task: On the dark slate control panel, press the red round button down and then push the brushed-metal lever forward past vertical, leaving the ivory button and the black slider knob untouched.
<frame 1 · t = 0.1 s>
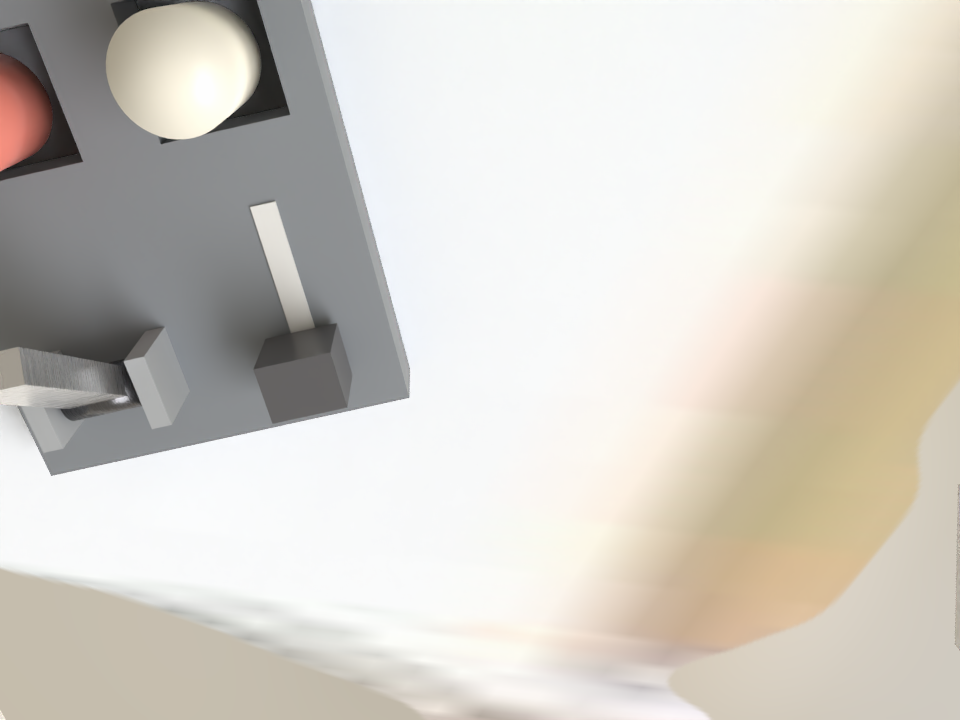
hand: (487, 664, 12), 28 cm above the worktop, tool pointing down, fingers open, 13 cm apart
slider knob: (305, 372, 35), point 5 cm above the worktop, slide at 2.0 cm
panel: (166, 197, 37), on the worktop
button ivory: (190, 66, 30), point 5 cm above the worktop, slide at 0.0 cm
lever: (59, 383, 32), point 8 cm above the worktop, hinge at -30.0°
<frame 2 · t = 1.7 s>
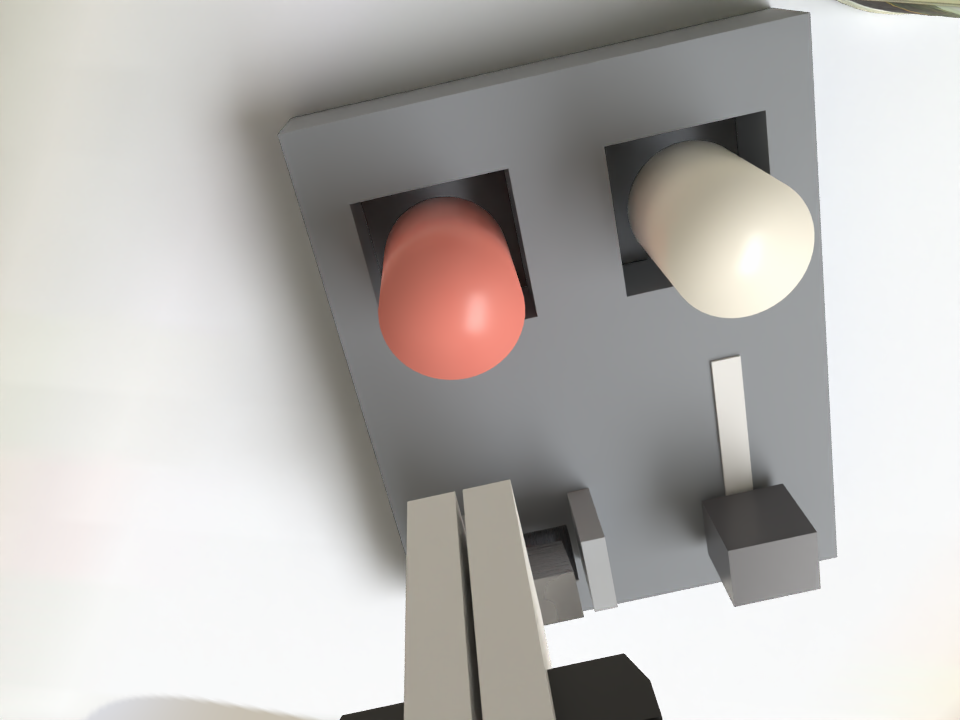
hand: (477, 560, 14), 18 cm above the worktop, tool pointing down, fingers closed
slider knob: (759, 543, 31), point 5 cm above the worktop, slide at 2.0 cm
panel: (579, 339, 33), on the worktop
button ivory: (712, 224, 26), point 5 cm above the worktop, slide at 0.0 cm
button red: (448, 283, 26), point 5 cm above the worktop, slide at 0.0 cm
lever: (532, 577, 28), point 8 cm above the worktop, hinge at -30.0°
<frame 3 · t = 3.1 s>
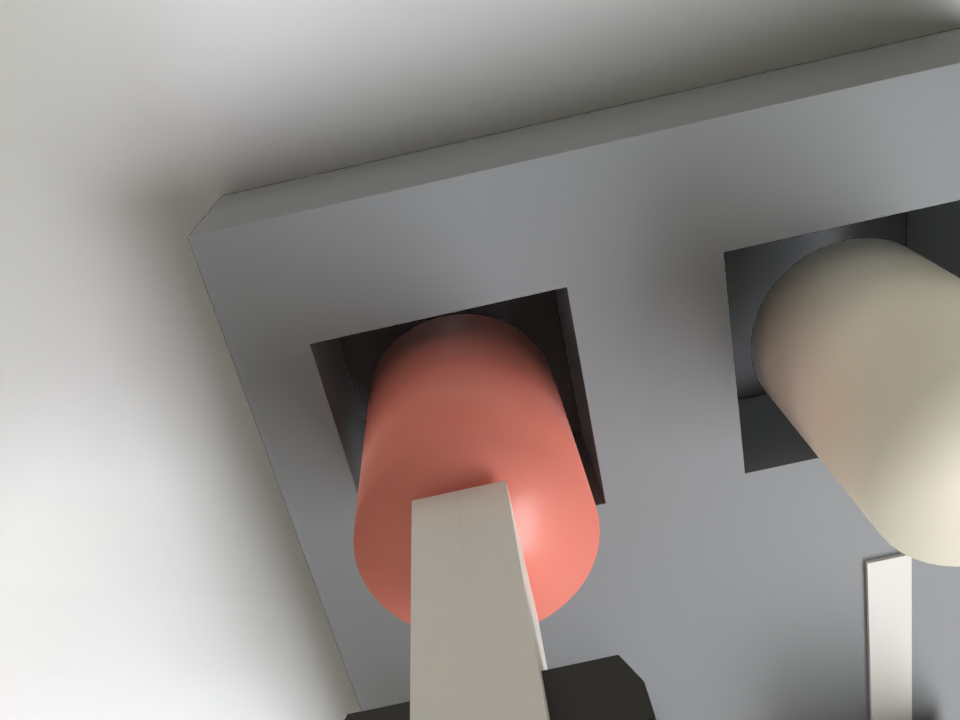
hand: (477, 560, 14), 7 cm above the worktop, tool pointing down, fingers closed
panel: (655, 504, 22), on the worktop
button ivory: (909, 387, 16), point 5 cm above the worktop, slide at 0.0 cm
button red: (469, 461, 17), point 4 cm above the worktop, slide at 0.7 cm, touching gripper
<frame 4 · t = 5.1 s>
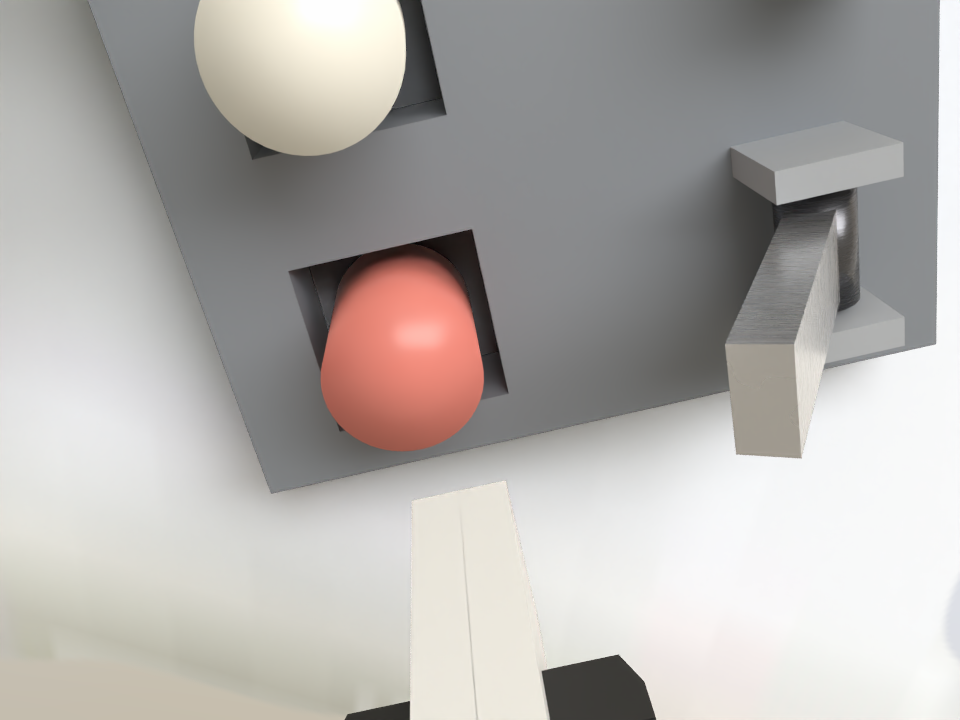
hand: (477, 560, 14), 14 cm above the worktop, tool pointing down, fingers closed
panel: (538, 131, 25), on the worktop
button ivory: (313, 40, 19), point 5 cm above the worktop, slide at 0.0 cm
button red: (402, 340, 24), point 3 cm above the worktop, slide at 1.6 cm
lever: (797, 301, 20), point 8 cm above the worktop, hinge at -30.0°
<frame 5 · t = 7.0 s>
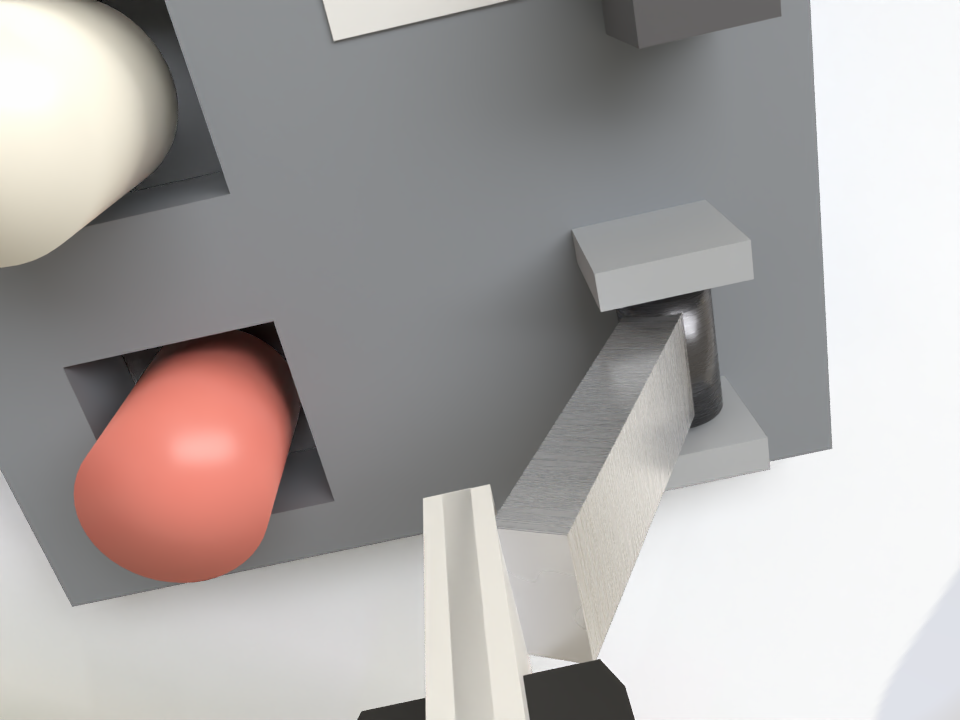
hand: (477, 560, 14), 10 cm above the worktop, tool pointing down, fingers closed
panel: (371, 200, 22), on the worktop
button ivory: (29, 118, 16), point 5 cm above the worktop, slide at 0.0 cm
button red: (200, 446, 21), point 3 cm above the worktop, slide at 1.6 cm
lever: (625, 433, 16), point 8 cm above the worktop, hinge at -27.1°, touching gripper
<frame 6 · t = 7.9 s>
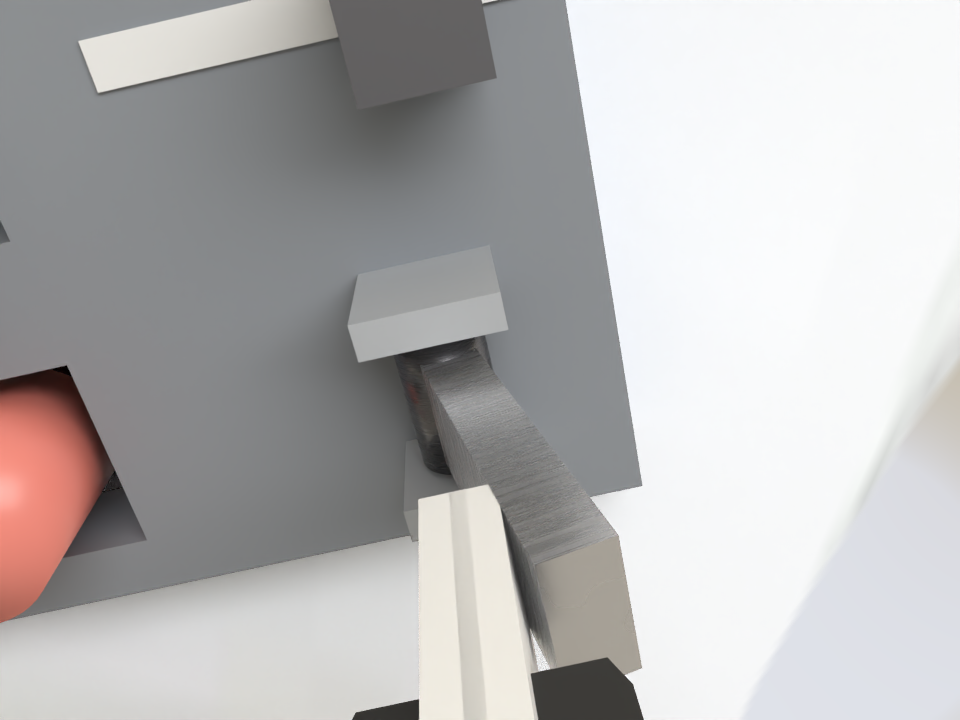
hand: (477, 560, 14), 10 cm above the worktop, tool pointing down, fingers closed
panel: (182, 241, 22), on the worktop
button red: (1, 488, 21), point 3 cm above the worktop, slide at 1.6 cm
lever: (497, 466, 16), point 8 cm above the worktop, hinge at 12.6°, touching gripper
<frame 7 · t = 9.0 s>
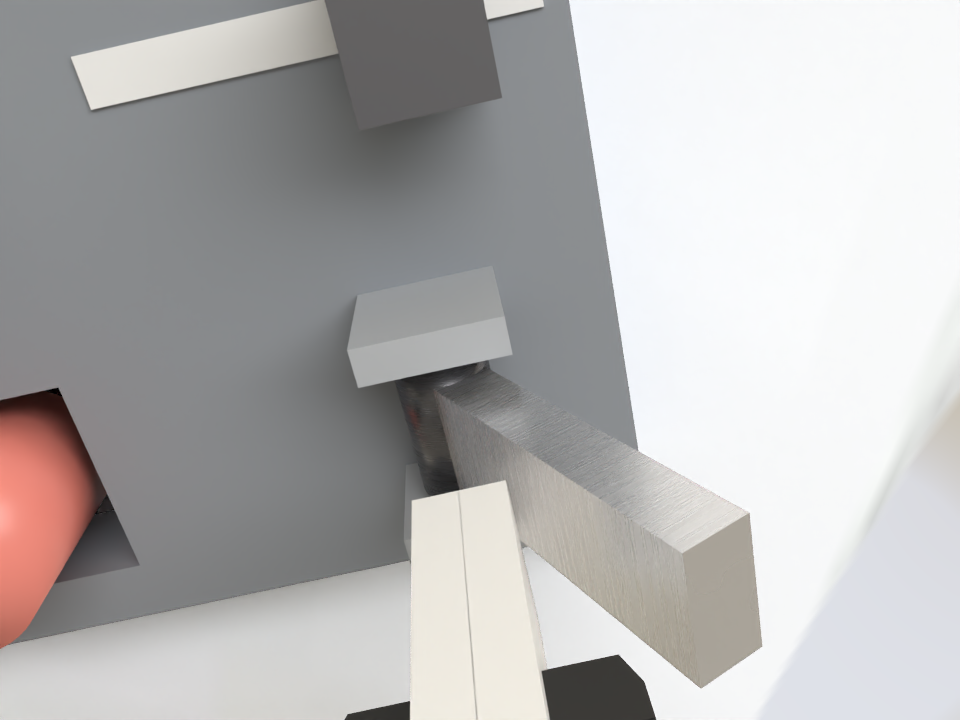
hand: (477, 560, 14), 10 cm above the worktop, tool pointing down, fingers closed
slider knob: (409, 12, 15), point 5 cm above the worktop, slide at 2.0 cm
panel: (177, 259, 22), on the worktop
lever: (544, 478, 16), point 8 cm above the worktop, hinge at 26.8°
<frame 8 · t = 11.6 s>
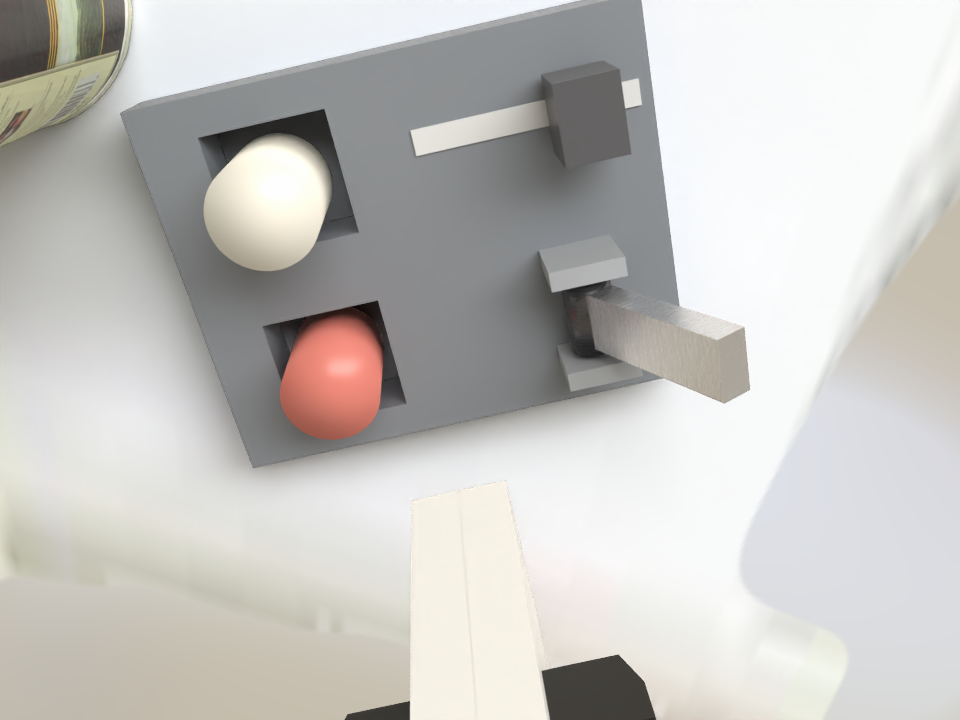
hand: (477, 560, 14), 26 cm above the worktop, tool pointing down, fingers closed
slider knob: (585, 113, 32), point 5 cm above the worktop, slide at 2.0 cm
panel: (426, 233, 39), on the worktop
button ivory: (273, 198, 33), point 5 cm above the worktop, slide at 0.0 cm
button red: (335, 370, 38), point 3 cm above the worktop, slide at 1.6 cm
lever: (646, 333, 33), point 8 cm above the worktop, hinge at 27.0°
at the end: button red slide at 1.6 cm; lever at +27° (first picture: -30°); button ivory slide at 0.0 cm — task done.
